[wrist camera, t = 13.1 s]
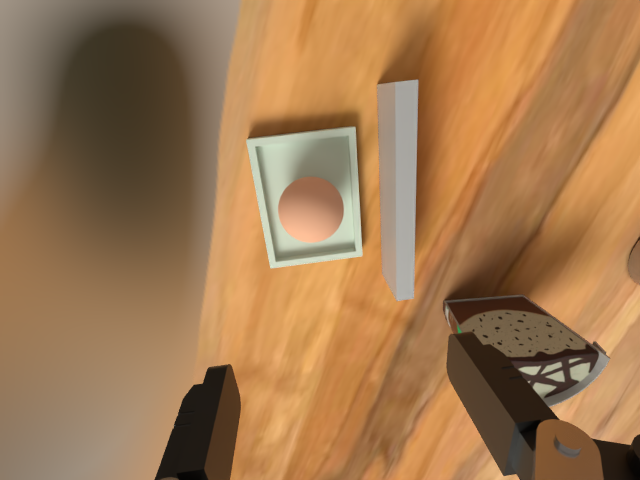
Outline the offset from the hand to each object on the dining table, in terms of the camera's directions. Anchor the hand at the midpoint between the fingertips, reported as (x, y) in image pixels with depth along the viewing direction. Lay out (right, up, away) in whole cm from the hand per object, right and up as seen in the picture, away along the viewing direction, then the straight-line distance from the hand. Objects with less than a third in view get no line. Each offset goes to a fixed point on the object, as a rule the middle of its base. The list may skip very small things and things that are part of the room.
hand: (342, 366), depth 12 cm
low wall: (+6, +9, +18) cm, 21 cm away
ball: (-2, +8, +18) cm, 20 cm away
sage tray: (-2, +8, +18) cm, 20 cm away
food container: (+18, -5, +26) cm, 32 cm away
